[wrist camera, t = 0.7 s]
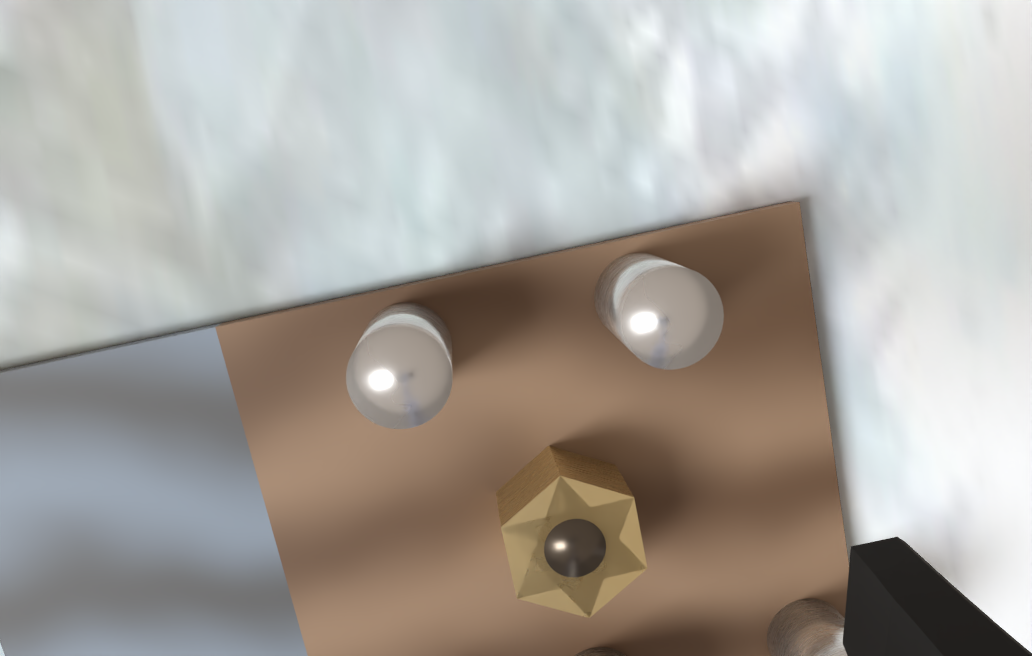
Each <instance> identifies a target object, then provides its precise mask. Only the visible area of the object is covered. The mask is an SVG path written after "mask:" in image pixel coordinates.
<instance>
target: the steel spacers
mask: <svg viewBox="0 0 1032 656" xmlns="http://www.w3.org/2000/svg"><path fill="white" fill-rule="evenodd" d="M594 301H595V308H596V311H597V314H598V316H599V318H600V320H601V322H602V323H603V324H604V325H605V326H606V327H607V328H608V329H609V330H610V331H611V332H612V333H613V334H614V335H615V336H616V337H617V338H618V339H619V340H620V341H621V342H622V343H623V344H624V345H625V346H626V347H627V348H628V349H629V350H630V351H631V352H632V353H633V354H634V355H636V356H637V357H638V358H639V359H640V360H641V361H643V362H644V363H646V364H648V365H650V366H653V367H656V368H660V369H667V370H672V369H681V368H684V367H688V366H690V365H692V364H694V363H696V362H698V361H700V360H701V359H702V358H703V357H705V356H706V355H707V354H708V353H709V352H710V351H711V349H712V348H713V347H714V346H715V344H716V342H717V341H718V338H719V336H720V334H721V330H722V327H723V320H724V312H723V305H722V301H721V298H720V296H719V294H718V292H717V290H716V288H715V287H714V286H713V284H712V283H711V282H710V281H709V280H708V279H707V278H705V277H704V276H703V275H701V274H700V273H698V272H696V271H694V270H691V269H689V268H686V267H683V266H681V265H678V264H676V263H673V262H670V261H668V260H665V259H663V258H660V257H657V256H655V255H652V254H648V253H630V254H627V255H624V256H621V257H619V258H617V259H616V260H614V261H613V262H612V263H610V264H609V265H608V266H607V267H606V268H605V269H604V271H603V272H602V274H601V275H600V277H599V279H598V282H597V284H596V288H595V294H594ZM346 384H347V390H348V393H349V396H350V398H351V400H352V402H353V404H354V405H355V407H356V408H357V409H358V411H359V412H360V413H361V414H362V415H363V416H365V417H366V418H367V419H368V420H370V421H371V422H373V423H375V424H377V425H380V426H383V427H386V428H391V429H408V428H413V427H417V426H419V425H422V424H424V423H426V422H427V421H429V420H431V419H432V418H433V417H435V416H436V415H437V414H438V413H439V412H440V411H441V409H442V408H443V407H444V405H445V403H446V402H447V400H448V398H449V395H450V392H451V388H452V340H451V335H450V332H449V329H448V327H447V325H446V324H445V322H444V321H443V319H442V318H441V317H440V316H439V315H438V314H437V313H436V312H434V311H433V310H431V309H430V308H428V307H426V306H423V305H420V304H416V303H397V304H394V305H391V306H388V307H386V308H384V309H383V310H381V311H380V312H379V313H377V314H376V315H375V316H374V317H373V318H372V320H371V321H370V322H369V324H368V326H367V328H366V330H365V331H364V333H363V335H362V337H361V339H360V340H359V342H358V344H357V346H356V348H355V350H354V351H353V353H352V355H351V357H350V360H349V362H348V366H347V371H346ZM844 620H845V619H844V617H843V616H842V615H841V614H840V613H839V612H838V611H837V610H836V609H835V608H834V607H833V606H832V605H831V604H829V603H827V602H825V601H823V600H820V599H814V598H805V599H800V600H797V601H794V602H792V603H790V604H788V605H786V606H785V607H783V608H782V609H781V610H780V611H779V612H778V613H777V614H776V615H775V616H774V618H773V619H772V621H771V623H770V625H769V628H768V632H767V646H768V649H769V652H770V654H771V656H848V655H847V653H846V651H845V648H844V646H843V631H844ZM575 656H626V655H624V654H623V653H621V652H620V651H618V650H615V649H612V648H607V647H595V648H590V649H587V650H584V651H582V652H580V653H578V654H576V655H575Z"/></svg>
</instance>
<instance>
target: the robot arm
mask: <svg viewBox="0 0 1032 656" xmlns="http://www.w3.org/2000/svg"><path fill="white" fill-rule="evenodd" d="M843 646H844V648H845V651H846V653H847V655H848V656H1032V653H1031V652H1029V651H1028V650H1027V649H1026V648H1024V647H1023V646H1022V645H1021V644H1020V643H1019V642H1017V641H1016V640H1015V639H1014V638H1013V637H1011V636H1010V635H1009V634H1008V633H1007V632H1006V631H1004V630H1003V629H1002V628H1001V627H1000V626H999V625H997V624H996V623H995V622H994V621H993V620H992V619H990V618H989V617H988V616H987V615H986V614H985V613H984V612H982V611H981V610H980V609H979V608H978V607H977V606H976V605H974V604H973V603H972V602H971V601H970V600H969V599H968V598H966V597H965V596H964V595H963V594H962V593H961V592H960V591H959V590H957V589H956V588H955V587H954V586H953V585H952V584H951V583H950V582H948V581H947V580H946V579H945V578H944V577H943V576H942V575H941V574H940V573H938V572H937V571H936V570H935V569H934V568H933V567H932V566H931V565H930V564H929V563H927V562H926V561H925V560H924V559H923V558H922V557H921V556H920V555H919V554H918V553H916V552H915V551H914V550H913V549H912V548H911V547H910V546H909V545H908V544H907V543H906V542H904V541H903V540H901V539H900V538H898V537H894V538H890V539H885V540H880V541H875V542H871V543H866V544H861V545H856V546H851V553H850V564H849V575H848V587H847V598H846V609H845V620H844V631H843Z"/></svg>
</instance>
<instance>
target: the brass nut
mask: <svg viewBox="0 0 1032 656" xmlns="http://www.w3.org/2000/svg"><path fill="white" fill-rule="evenodd" d="M496 497H497V504H498V511H499V518H500V524H501V530H502V534H503V539H504V543H505V548H506V552H507V557H508V561H509V566H510V570H511V575H512V579H513V584H514V588H515V593H516V597H517V599H520V600H524V601H528V602H531V603H535V604H539V605H543V606H546V607H550V608H554V609H557V610H561V611H565V612H569V613H572V614H576V615H580V616H583V617H587V618H590V617H591V616H593V615H594V614H595V613H596V612H597V611H598V610H600V609H601V608H602V607H603V606H604V605H605V604H607V603H608V602H609V601H610V600H611V599H612V598H614V597H615V596H616V595H617V594H618V593H619V592H621V591H622V590H623V589H624V588H625V587H626V586H628V585H629V584H630V583H631V582H632V581H633V580H635V579H636V578H637V577H638V576H639V575H640V574H642V573H643V572H644V571H645V570H646V569H648V568H647V563H646V558H645V552H644V547H643V542H642V537H641V531H640V526H639V521H638V515H637V510H636V505H635V499H634V496H633V494H632V493H631V491H630V489H629V488H628V486H627V484H626V482H625V481H624V479H623V477H622V475H621V474H620V472H619V470H618V468H617V467H616V465H614V464H610V463H607V462H604V461H600V460H597V459H593V458H590V457H587V456H583V455H580V454H577V453H573V452H570V451H566V450H563V449H560V448H556V447H553V446H550V445H549V446H548V447H547V448H545V449H544V450H543V451H542V452H541V453H540V454H539V455H537V456H536V457H535V458H534V459H533V460H532V461H531V462H529V463H528V464H527V465H526V466H525V467H524V468H523V469H521V470H520V471H519V472H518V473H517V474H516V475H515V476H513V477H512V478H511V479H510V480H509V481H508V482H507V483H505V484H504V485H503V486H502V487H501V488H500V489H499V490H497V491H496Z"/></svg>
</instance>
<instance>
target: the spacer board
mask: <svg viewBox="0 0 1032 656" xmlns="http://www.w3.org/2000/svg"><path fill="white" fill-rule="evenodd" d="M630 253H648V254H652V255H655V256H657V257H660V258H663V259H665V260H668V261H670V262H673V263H676V264H678V265H681V266H683V267H686V268H689V269H691V270H694V271H696V272H698V273H700V274H701V275H703V276H704V277H705V278H707V279H708V280H709V281H710V282H711V283H712V284H713V286H714V287H715V288H716V290H717V292H718V294H719V296H720V298H721V301H722V305H723V312H724V320H723V327H722V330H721V334H720V336H719V338H718V341H717V342H716V344H715V346H714V347H713V348H712V349H711V351H710V352H709V353H708V354H707V355H706V356H705V357H703V358H702V359H701V360H700V361H698V362H696V363H694V364H692V365H690V366H688V367H684V368H681V369H672V370H667V369H660V368H656V367H653V366H650V365H648V364H646V363H644V362H643V361H641V360H640V359H639V358H638V357H637V356H636V355H634V354H633V353H632V352H631V351H630V350H629V349H628V348H627V347H626V346H625V345H624V344H623V343H622V342H621V341H620V340H619V339H618V338H617V337H616V336H615V335H614V334H613V333H612V332H611V331H610V330H609V329H608V328H607V327H606V326H605V325H604V324H603V323H602V322H601V320H600V318H599V316H598V314H597V311H596V308H595V301H594V294H595V288H596V284H597V282H598V279H599V277H600V275H601V274H602V272H603V271H604V269H605V268H606V267H607V266H608V265H609V264H610V263H612V262H613V261H614V260H616V259H617V258H619V257H621V256H624V255H627V254H630ZM397 303H416V304H420V305H423V306H426V307H428V308H430V309H431V310H433V311H434V312H436V313H437V314H438V315H439V316H440V317H441V318H442V319H443V321H444V322H445V324H446V325H447V327H448V329H449V332H450V335H451V340H452V388H451V392H450V395H449V398H448V400H447V402H446V403H445V405H444V407H443V408H442V409H441V411H440V412H439V413H438V414H437V415H436V416H435V417H433V418H432V419H431V420H429V421H427V422H426V423H424V424H422V425H419V426H417V427H413V428H408V429H391V428H386V427H383V426H380V425H377V424H375V423H373V422H371V421H370V420H368V419H367V418H366V417H365V416H363V415H362V414H361V413H360V412H359V411H358V409H357V408H356V407H355V405H354V404H353V402H352V400H351V398H350V396H349V393H348V390H347V384H346V371H347V366H348V362H349V360H350V357H351V355H352V353H353V351H354V350H355V348H356V346H357V344H358V342H359V340H360V339H361V337H362V335H363V333H364V331H365V330H366V328H367V326H368V324H369V322H370V321H371V320H372V318H373V317H374V316H375V315H376V314H377V313H379V312H380V311H381V310H383V309H384V308H386V307H388V306H391V305H394V304H397ZM549 445H550V446H553V447H556V448H560V449H563V450H566V451H570V452H573V453H577V454H580V455H583V456H587V457H590V458H593V459H597V460H600V461H604V462H607V463H610V464H614V465H616V467H617V468H618V470H619V472H620V474H621V475H622V477H623V479H624V481H625V482H626V484H627V486H628V488H629V489H630V491H631V493H632V494H633V496H634V499H635V505H636V510H637V515H638V521H639V526H640V531H641V537H642V542H643V547H644V552H645V558H646V563H647V568H648V569H646V570H645V571H644V572H643V573H642V574H640V575H639V576H638V577H637V578H636V579H635V580H633V581H632V582H631V583H630V584H629V585H628V586H626V587H625V588H624V589H623V590H622V591H621V592H619V593H618V594H617V595H616V596H615V597H614V598H612V599H611V600H610V601H609V602H608V603H607V604H605V605H604V606H603V607H602V608H601V609H600V610H598V611H597V612H596V613H595V614H594V615H593V616H591V617H590V618H587V617H583V616H580V615H576V614H572V613H569V612H565V611H561V610H557V609H554V608H550V607H546V606H543V605H539V604H535V603H531V602H528V601H524V600H520V599H517V597H516V593H515V588H514V584H513V579H512V575H511V570H510V566H509V561H508V557H507V552H506V548H505V543H504V539H503V534H502V530H501V524H500V518H499V511H498V504H497V497H496V491H497V490H499V489H500V488H501V487H502V486H503V485H504V484H505V483H507V482H508V481H509V480H510V479H511V478H512V477H513V476H515V475H516V474H517V473H518V472H519V471H520V470H521V469H523V468H524V467H525V466H526V465H527V464H528V463H529V462H531V461H532V460H533V459H534V458H535V457H536V456H537V455H539V454H540V453H541V452H542V451H543V450H544V449H545V448H547V447H548V446H549ZM848 575H849V561H848V554H847V547H846V539H845V532H844V525H843V517H842V510H841V503H840V495H839V488H838V481H837V474H836V466H835V459H834V452H833V444H832V437H831V430H830V422H829V415H828V408H827V400H826V393H825V386H824V378H823V371H822V364H821V356H820V349H819V342H818V334H817V327H816V320H815V312H814V305H813V298H812V291H811V283H810V276H809V269H808V261H807V254H806V247H805V239H804V232H803V225H802V217H801V210H800V203H799V202H785V203H781V204H776V205H771V206H767V207H762V208H757V209H753V210H748V211H743V212H739V213H734V214H729V215H725V216H720V217H715V218H710V219H706V220H701V221H696V222H692V223H687V224H682V225H678V226H673V227H668V228H664V229H659V230H654V231H650V232H645V233H640V234H636V235H631V236H626V237H622V238H617V239H612V240H608V241H603V242H598V243H594V244H589V245H584V246H580V247H575V248H570V249H566V250H561V251H556V252H551V253H547V254H542V255H537V256H533V257H528V258H523V259H519V260H514V261H509V262H505V263H500V264H495V265H491V266H486V267H481V268H477V269H472V270H467V271H463V272H458V273H453V274H449V275H444V276H439V277H435V278H430V279H425V280H421V281H416V282H411V283H406V284H402V285H397V286H392V287H388V288H383V289H378V290H374V291H369V292H364V293H360V294H355V295H350V296H346V297H341V298H336V299H332V300H327V301H322V302H318V303H313V304H308V305H304V306H299V307H294V308H290V309H285V310H280V311H276V312H271V313H266V314H262V315H257V316H252V317H247V318H243V319H238V320H233V321H229V322H224V323H219V324H215V325H210V326H205V327H201V328H196V329H191V330H187V331H182V332H177V333H173V334H168V335H163V336H159V337H154V338H149V339H145V340H140V341H135V342H131V343H126V344H121V345H117V346H112V347H107V348H102V349H98V350H93V351H88V352H84V353H79V354H74V355H70V356H65V357H60V358H56V359H51V360H46V361H42V362H37V363H32V364H28V365H23V366H18V367H14V368H9V369H4V370H0V643H1V645H2V648H3V651H4V654H5V656H575V655H576V654H578V653H580V652H582V651H584V650H587V649H590V648H595V647H607V648H612V649H615V650H618V651H620V652H621V653H623V654H624V655H626V656H771V654H770V652H769V649H768V646H767V632H768V628H769V625H770V623H771V621H772V619H773V618H774V616H775V615H776V614H777V613H778V612H779V611H780V610H781V609H782V608H783V607H785V606H786V605H788V604H790V603H792V602H794V601H797V600H800V599H805V598H814V599H820V600H823V601H825V602H827V603H829V604H831V605H832V606H833V607H834V608H835V609H836V610H837V611H838V612H839V613H840V614H841V615H842V616H843V617H844V619H845V609H846V598H847V587H848Z"/></svg>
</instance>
